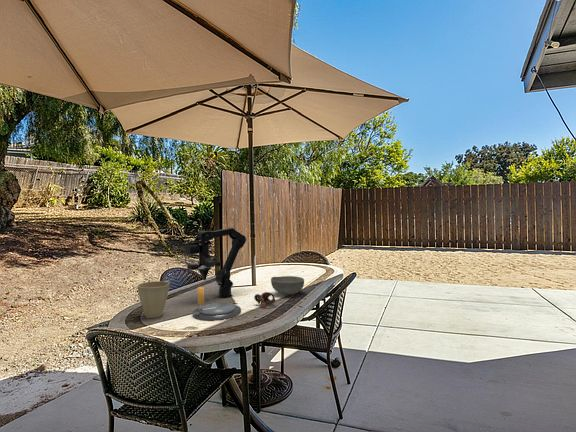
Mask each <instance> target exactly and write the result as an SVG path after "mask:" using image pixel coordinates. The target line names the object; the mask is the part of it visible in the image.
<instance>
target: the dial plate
mask: <svg viewBox="0 0 576 432" xmlns="http://www.w3.org/2000/svg"><path fill="white" fill-rule="evenodd" d="M233 305H234V306H235V310H234V311H233V312H231V313H228V314H224V315H215V316H210V315H203V314H200V313H199V308H200V306H198V307H196V308H195V309H193V310H192V317H193V318H194V319H196V320H198V319H199V321H203V322H204V321H205V322H206V321H207V322H215V321H214V320H219V321H225V320H224V319H226V320H230V319H233V317H234V318H236V317H238V316H239V315H241V313H242V308H241V307H240V306H239V305H236V304H233ZM229 318H230V319H229Z"/></svg>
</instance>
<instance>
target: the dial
mask: <svg viewBox="0 0 576 432" xmlns="http://www.w3.org/2000/svg"><path fill="white" fill-rule="evenodd" d="M196 288H197V292H196V293H197V305H199V307H200V308H199V313H200V314H203V315H210V316H215V315H224V314H228V313H231V312H233V311H234V310H235V306H234V305H235V304H234V303H229V302H212V303H207V304H205V286H198V287H196ZM204 304H205V305H204Z"/></svg>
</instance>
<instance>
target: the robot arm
mask: <svg viewBox="0 0 576 432" xmlns="http://www.w3.org/2000/svg"><path fill="white" fill-rule="evenodd" d="M225 236H228V237H229V238H230V239H231V248H230V250H229V253H228V255H227V257H226V260H225V262H224V265H223V267H222V268H221V269H218V270H217V271H216V274H215V279H214V281H215V283H216V284H217V286H219V289H218V297H220V298H222V299H225V298H230V297H233V294H232V287H233V285H234V282H233V281H232V280H231V270H232V268H233V266H234V264H235V262H236V259H237V256H238V254H239V251H240V250H241V249H242V248H243V247H244V245H245V244H246V242H247V238H246V236H245V235H243V234H242V233H241V232H239V231H237V230H236V229H235V228H233V227H227V228H222V229H217V230H213V231H211V230H209V231H208V230H207V231H206V230H200V231H198V232H197V234H196V236H195V239H194V240H193V242H191V241H190V242H188V241H187V242H186V245H185V248H184V251H185V252H184V253H185V254H186V255H187V256H189V255H190V256H191V255H197V257H198V262H197V263H189V264H188V263H187V266H186V269H187V270H190V271H198V272H199V274H200V275H201V278H202V280H203V281H206V280H207V277H208V274H209V271H210V270H212V269H213V268H215V267H221V262H220V260H218V257H213V258H212V257H211V256H212V255H211V254H210V245H211V246H212V245H213V242H211V241H212V240H213V239H216V238H219V237H225Z"/></svg>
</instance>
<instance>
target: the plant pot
mask: <svg viewBox="0 0 576 432" xmlns="http://www.w3.org/2000/svg"><path fill="white" fill-rule="evenodd" d="M136 287H137V292H138V293H137V294H138V297H139V298H138V299H139V301H140V305H141V307H142V310H143V313H144V315H145V317H146V318H147V319H156V318H160V317H161V316H162V315H163V313H164V310H165V307H166V303H167V300H168V295H169V288H170V282H168V281H164V280H163V281H162V280H158V281H147V282H141V283H139V284H138V285H137V286H136Z"/></svg>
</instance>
